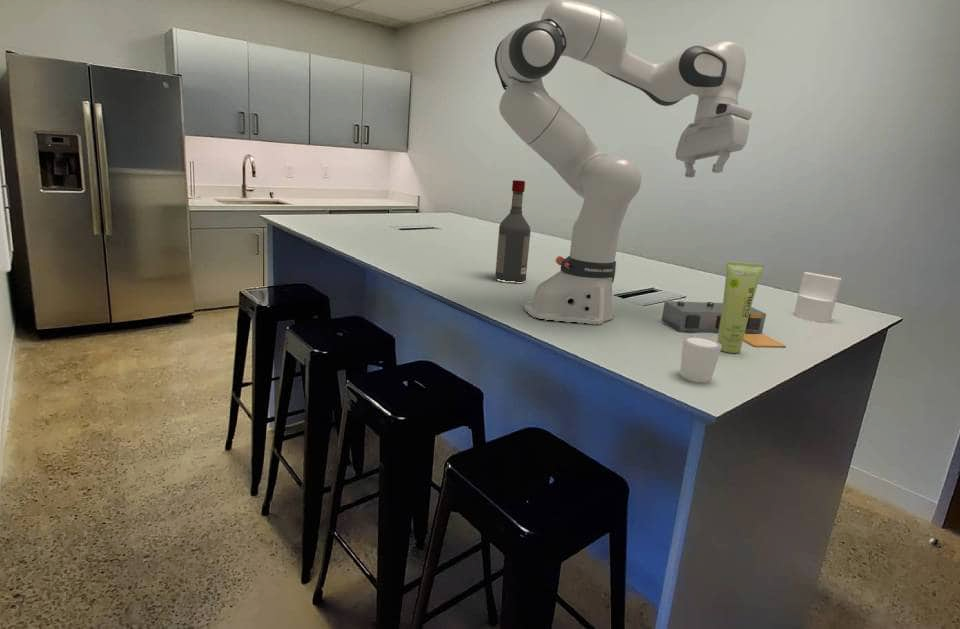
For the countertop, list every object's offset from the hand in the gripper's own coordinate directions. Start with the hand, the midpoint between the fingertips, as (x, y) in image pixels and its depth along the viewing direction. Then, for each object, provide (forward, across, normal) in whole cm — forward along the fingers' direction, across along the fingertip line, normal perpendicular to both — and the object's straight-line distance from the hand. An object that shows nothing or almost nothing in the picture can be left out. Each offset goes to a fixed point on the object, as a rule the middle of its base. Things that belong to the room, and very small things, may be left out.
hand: (702, 174), depth 133 cm
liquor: (+33, -49, -24) cm, 64 cm away
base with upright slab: (+28, -6, +50) cm, 57 cm away
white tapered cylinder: (+45, +27, -13) cm, 54 cm away
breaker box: (+35, -1, +12) cm, 37 cm away
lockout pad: (+36, +10, +17) cm, 41 cm away
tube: (+39, +14, +5) cm, 42 cm away
